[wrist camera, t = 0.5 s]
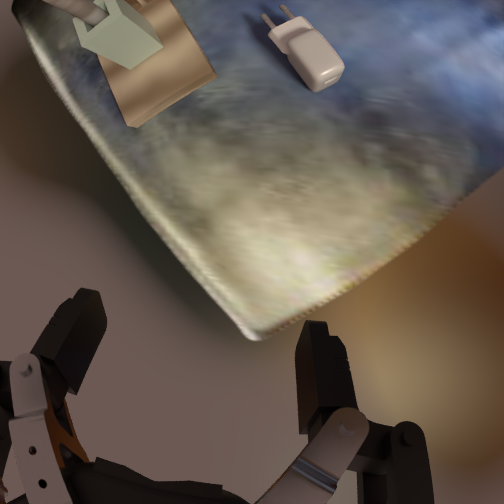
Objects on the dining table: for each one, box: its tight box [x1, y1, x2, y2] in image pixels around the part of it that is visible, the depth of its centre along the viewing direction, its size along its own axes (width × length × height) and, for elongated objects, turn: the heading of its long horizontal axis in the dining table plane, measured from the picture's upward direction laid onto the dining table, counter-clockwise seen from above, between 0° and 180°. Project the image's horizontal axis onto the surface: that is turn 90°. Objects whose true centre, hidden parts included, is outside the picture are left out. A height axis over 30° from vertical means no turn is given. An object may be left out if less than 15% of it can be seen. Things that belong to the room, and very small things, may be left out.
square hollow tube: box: [73, 0, 164, 70], centre depth 22 cm, size 5×5×10 cm
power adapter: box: [260, 4, 345, 92], centre depth 25 cm, size 11×5×6 cm, turn 32°
